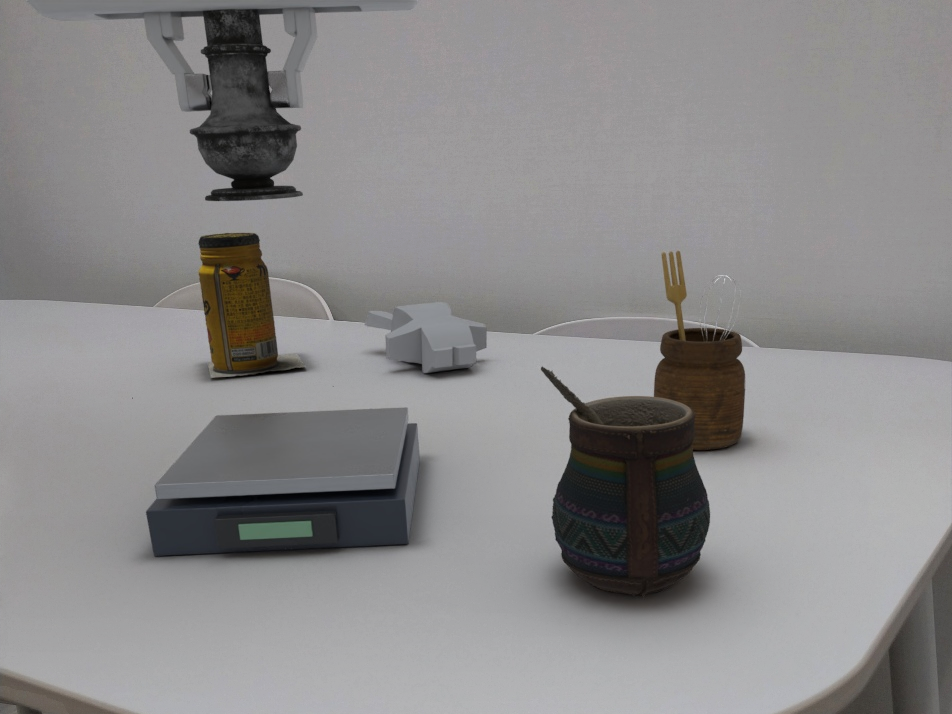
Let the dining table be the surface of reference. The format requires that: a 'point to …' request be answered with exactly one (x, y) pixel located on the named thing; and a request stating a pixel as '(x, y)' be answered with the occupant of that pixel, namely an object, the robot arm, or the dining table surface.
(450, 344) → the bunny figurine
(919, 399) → the dining table surface
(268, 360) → the condiment
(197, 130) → the salt shaker
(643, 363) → the dining table surface
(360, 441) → the scale pan
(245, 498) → the scale
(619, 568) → the mate gourd
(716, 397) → the utensil holder
